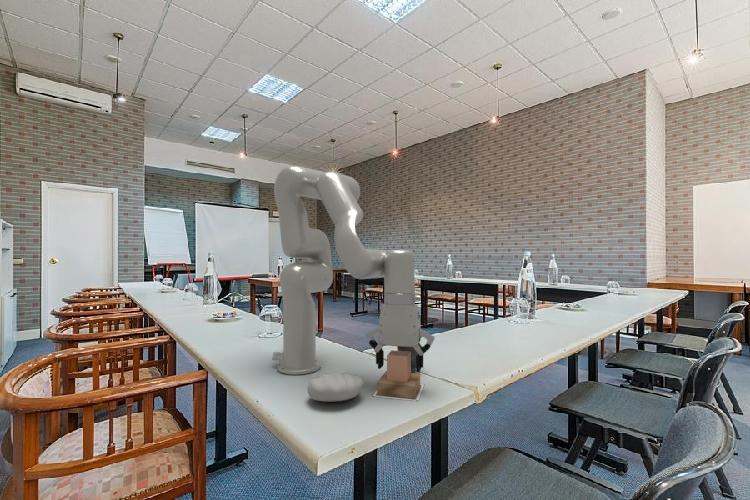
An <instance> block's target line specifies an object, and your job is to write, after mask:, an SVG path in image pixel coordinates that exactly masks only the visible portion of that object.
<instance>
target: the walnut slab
mask: <svg viewBox="0 0 750 500" xmlns="http://www.w3.org/2000/svg"><path fill="white" fill-rule="evenodd" d="M376 384H377V385H376V390H377V395H380V396H389V397H398V398H408V399H415V397H416V395H417V392H418V390H419V387H420V384H421V373H418V372H417V373H416V372H415V373H411V376H410V378H409V380H408V382H398V381H388V380H387V370H385V371H384V373H383V374H382V376H381V377H380V378H379V379H378V380H377V383H376Z"/></svg>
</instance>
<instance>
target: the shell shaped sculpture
mask: <svg viewBox="0 0 750 500" xmlns="http://www.w3.org/2000/svg"><path fill="white" fill-rule="evenodd" d="M363 387H364V380H363V379H362V378H361V377H360V376H359V375H351V374H349V373H346V372H343V373H340V372H333V373H329V374H328V373H323V374H321V375H320V377H317V378H312V379H310V381H309V382H308V384H307V394H308V396H309V398H311V399H312V400H315V401H317V402H323V403H327V402H328V403H329V402H330V403H331V402H332V403H335V402H343V401H349V400H350V399H354V398H355V397H357V396H358V395H359V394H360V393H361V392H362V390H363Z"/></svg>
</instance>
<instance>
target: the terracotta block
mask: <svg viewBox="0 0 750 500" xmlns="http://www.w3.org/2000/svg"><path fill="white" fill-rule="evenodd" d="M386 371H387V380H388V381H398V382H408V380H409V378H410V376H411V352H407V351H398V350H395V349H393V350H390V352H389V353H388V354H386Z"/></svg>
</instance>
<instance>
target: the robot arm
mask: <svg viewBox="0 0 750 500" xmlns="http://www.w3.org/2000/svg"><path fill="white" fill-rule="evenodd" d="M273 193H274V194H273V195H274V201H275V205H276V208H277V212H278V219H279V220H278V221H279V230H280V240H281V247H282V252H283V254H284V255H285V256H286V257H288V258H292V259H306V261H305V262H303V261H302V262H301V261H300V262H299V261H298V262H292V263H289V264H287V265H286V266H284V267H283V268H282V270H281V272H280V274H279V284H280V288H281V295H282V312H283V313H282V318H283V319H282V321H283V324H282V327H283V328H282V329H283V331H282V332H283V334H282V343H283V344H282V346H283V348H282V351H283V352H279V351H274V352H273V353H272V357H271V360H272V361H278V362H279V364H278V365H277V371H278V372H279V373H281V374H285V375H294V376H295V375H297V376H298V375H306V374H307V375H308V374H311V373H315V372H316V371H318V370H320V368H322V367H321V365H322V364H321V361H319V360H317V357H316V352H317V351H316V350H317V349H316V346H317V344H316V343H317V339H316V335H317V334H316V331H317V330H316V328H317V325H316V324H317V322H316V319H317V316H316V315H317V314H316V313H317V311H316V303H315V301H314V299H313V296H312V293H313V294H314V293H319V292H324V291H327V290H328V289H329V288H330V287H331V286H332V284H333V279H334V269H333V262H332V261H333V260H332V252H331V246H330V245H331V244H330V240H329V238H328V236H327V234H326V233H325V232H324V231H322V230H320V229H318V228H311V227H310V226H309V219H308V212H307V209H306V206H305V205H304V203H303V201H302V200H301V197H304V198H309V199H314V200H320V201H321V203H322V204H323V206H324V207H325V210H326V211H327V214H328V215H329V217H330V218H331V221H332V223H333V224H334V227H335V229H334V233H333V234H334V236H333V238H334V241H333V242H334V248H335V251H336V253H337V256H338V257H339V260H340V261H341V263H342V265H343V267H344V269H345V270H346V272H347V273H348V274H349V275H351V277H353V278H354V279H358V280H366V279H367V280H368V279H380V278H383V279H384V280H383V281H384V282H383V283H384V284H383V288H384V290H383V291H384V292H383V294H384V295H383V296H384V297H383V301H384V302H383V304H381V307H380V312H379V321H378V327H376V328H373V329H372V330H370V331H367V332H366V333H365V337H366V339H367V341H368V343H369V346H370V347H371V348H372V349H373V350H374V352H375V365H377V369H378V370H380V369H382V368H383V367H384V360H385V358H384V357H385V355H384V354H385V352H384V349H383V347H384V346H388V347H389V346H390V347H397V346H400V347H413V348H414V349H415V350H416V352H417V356H416V372H417V373H420V372H421V369H423V368H424V354H425V353H426V352H428V350H430V348H431V346H432V345H433V343H434V340H435V336H434V335H432V334H431V333H429V332H427V331H425V330H424V329H422V328H421V315H420V309H419V304H415V303H416V302H420V301H421V295H418V294H417V293H416V292H415V287H416V286H415V284H416V283H415V281H416V280H415V278H416V277H415V273H416V272H415V253H414V252H413V251H412V250H408V249H389V250H386V249H385V250H384V249H377V248H376V249H375V248H365V247H364V245H363V243H362V241H361V240H360V238H359V236H358V233H357V231H356V226H358V224H360V223H361V221H362V219H363V217H364V210H362V208H361V207H360V205H359V203H358V200H359V198H360V197H361V187H360V184H359V183H358V182H357V180H356V179H355V178H353V177H352V176H349V175H346V174H342V173H339V172H335V171H326V172H320V171H316V170H313V169H311V168H307V167H304V166H299V165H288V166H285V167H284V168H282V169H281V170H280V171H279V173H278V174H277V176H276V178H275V181H274V187H273ZM377 334H378V336H377V337H378V338H377V339H378V342H377V341H376V340H375V339H374V336H375V335H377ZM421 338H424V339H426V343H425V344H424V345H423V346H422V344H421V343H420V342H421Z"/></svg>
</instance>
